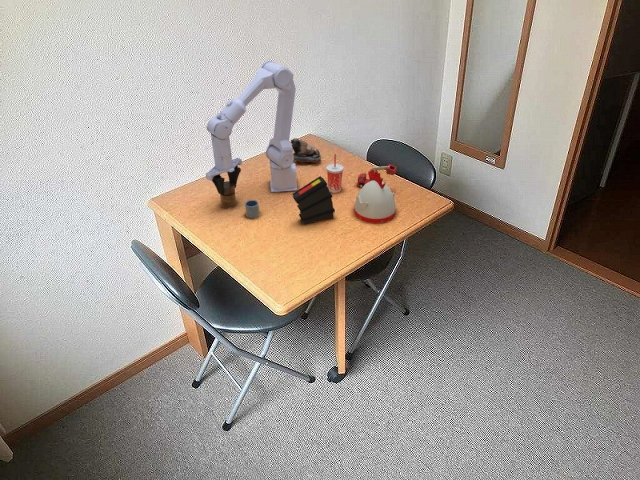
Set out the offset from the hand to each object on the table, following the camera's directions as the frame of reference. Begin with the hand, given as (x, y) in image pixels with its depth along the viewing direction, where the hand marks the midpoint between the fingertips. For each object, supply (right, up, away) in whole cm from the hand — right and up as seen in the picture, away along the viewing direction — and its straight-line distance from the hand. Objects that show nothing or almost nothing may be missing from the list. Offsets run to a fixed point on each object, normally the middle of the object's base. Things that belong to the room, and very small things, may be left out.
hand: (227, 190), depth 166 cm
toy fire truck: (+52, +2, +12) cm, 53 cm away
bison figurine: (+52, +41, +20) cm, 69 cm away
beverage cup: (+37, +1, +11) cm, 39 cm away
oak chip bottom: (0, -4, +3) cm, 6 cm away
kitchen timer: (+50, -7, -1) cm, 51 cm away
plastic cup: (+9, -8, -2) cm, 13 cm away
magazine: (+30, -10, -5) cm, 32 cm away
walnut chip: (0, 0, 0) cm, 0 cm away
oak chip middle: (0, -2, +2) cm, 3 cm away
